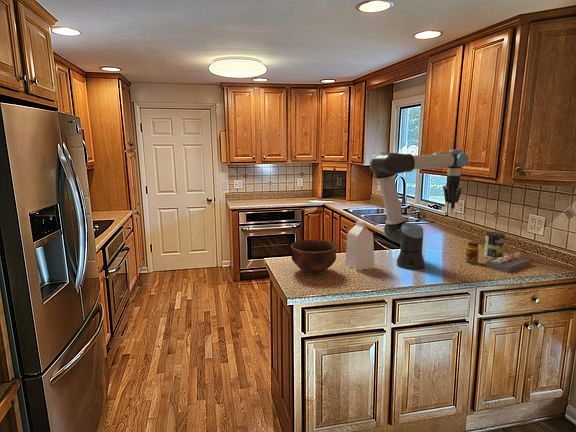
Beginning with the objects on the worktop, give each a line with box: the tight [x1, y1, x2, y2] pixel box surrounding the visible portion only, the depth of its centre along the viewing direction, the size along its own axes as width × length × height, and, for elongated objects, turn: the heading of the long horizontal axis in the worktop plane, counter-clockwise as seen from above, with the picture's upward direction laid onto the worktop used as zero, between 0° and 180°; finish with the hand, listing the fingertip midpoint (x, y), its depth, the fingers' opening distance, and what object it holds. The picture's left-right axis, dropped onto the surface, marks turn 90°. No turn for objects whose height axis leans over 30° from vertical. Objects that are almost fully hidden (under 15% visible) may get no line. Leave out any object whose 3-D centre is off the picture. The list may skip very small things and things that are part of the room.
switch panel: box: [484, 254, 532, 274], centre depth 208 cm, size 24×12×3 cm, turn 122°
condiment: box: [461, 241, 481, 266], centre depth 214 cm, size 7×8×12 cm
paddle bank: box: [497, 251, 521, 264], centre depth 208 cm, size 21×1×3 cm, turn 122°
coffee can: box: [483, 231, 506, 259], centre depth 226 cm, size 10×10×14 cm
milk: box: [344, 219, 375, 271], centre depth 208 cm, size 12×12×26 cm
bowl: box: [290, 239, 338, 275], centre depth 201 cm, size 25×25×15 cm
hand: (450, 213), depth 230 cm, fingers closed
